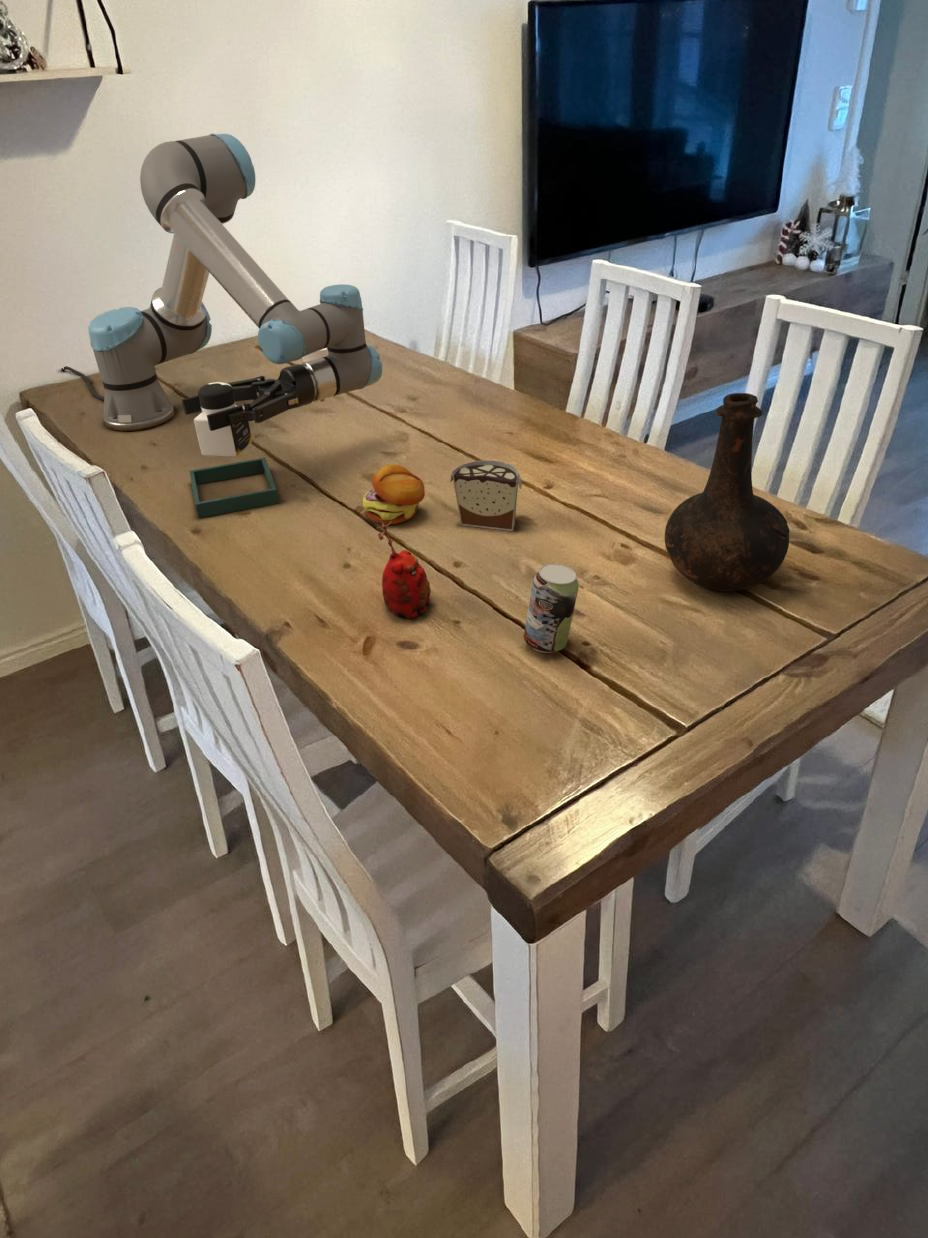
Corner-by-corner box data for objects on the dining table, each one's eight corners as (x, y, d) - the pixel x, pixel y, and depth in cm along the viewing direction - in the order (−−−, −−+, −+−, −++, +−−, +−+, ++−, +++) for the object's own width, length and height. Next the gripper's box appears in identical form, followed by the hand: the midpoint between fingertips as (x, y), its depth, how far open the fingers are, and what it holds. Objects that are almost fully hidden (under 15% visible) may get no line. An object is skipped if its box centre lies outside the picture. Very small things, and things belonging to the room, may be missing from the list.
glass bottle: (762, 619, 127) (791, 432, 112) (643, 588, 136) (655, 410, 120) (796, 561, 140) (828, 385, 124) (685, 536, 148) (701, 368, 132)
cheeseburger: (379, 496, 166) (386, 448, 160) (430, 517, 164) (439, 470, 157) (350, 519, 159) (356, 470, 152) (403, 542, 156) (411, 493, 150)
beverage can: (521, 634, 127) (519, 561, 121) (572, 630, 128) (574, 556, 121) (527, 661, 122) (526, 586, 116) (581, 656, 123) (583, 580, 116)
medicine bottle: (237, 457, 163) (224, 393, 156) (201, 456, 164) (186, 392, 157) (253, 441, 168) (241, 379, 162) (217, 440, 170) (204, 378, 163)
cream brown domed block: (531, 515, 157) (530, 462, 151) (521, 532, 152) (520, 477, 147) (464, 508, 161) (461, 455, 155) (452, 524, 156) (449, 470, 150)
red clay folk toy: (424, 623, 131) (416, 532, 123) (377, 620, 132) (366, 530, 124) (435, 594, 137) (427, 506, 129) (390, 592, 139) (380, 504, 130)
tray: (192, 483, 175) (189, 470, 174) (267, 470, 179) (265, 457, 177) (198, 518, 163) (195, 504, 161) (279, 503, 166) (276, 489, 165)
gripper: (340, 417, 165) (228, 453, 154) (281, 387, 180) (175, 418, 169) (334, 377, 161) (219, 411, 150) (274, 350, 176) (166, 379, 165)
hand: (196, 415), depth 160 cm, fingers closed on medicine bottle, 10 cm apart
